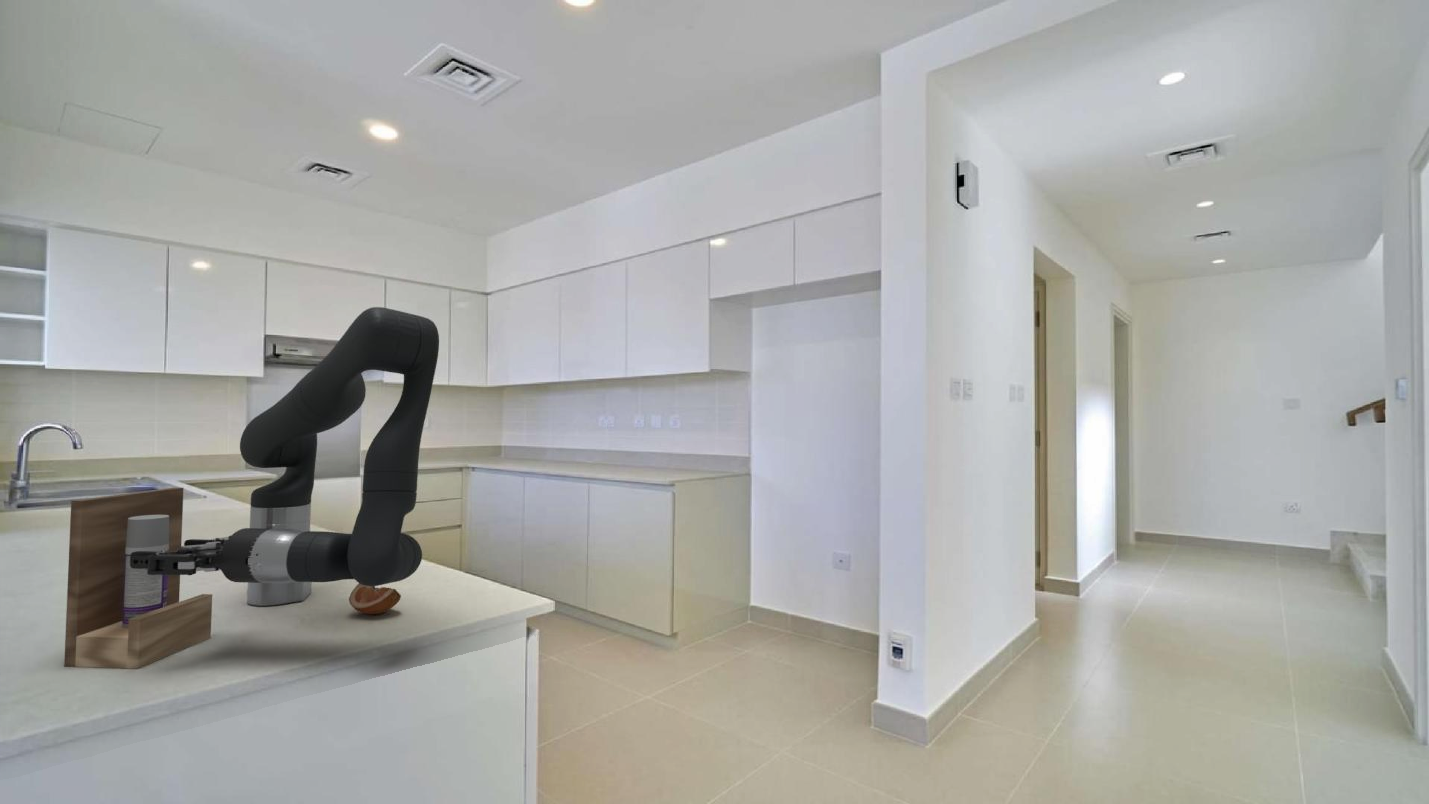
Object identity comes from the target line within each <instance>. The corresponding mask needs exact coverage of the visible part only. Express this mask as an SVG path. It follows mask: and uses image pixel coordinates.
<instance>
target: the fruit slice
mask: <svg viewBox="0 0 1429 804" xmlns="http://www.w3.org/2000/svg"><path fill="white" fill-rule="evenodd" d="M348 598H349V599H348V601H349V604H350V605H351V607H352V608H353V609H354V610H355V611H357V612H358V613H361V614H363V615H371V616H373V614H376V615H381V614H384V613H385V612H387V611H389V610H391V609H392V608H394V607H395V606H396V605H397V604H398V602H400V600H401V598H402V595H401V594H400V593H399V591H397V589H395V588H392V587H385V586H382V587H376V586H365V585H362V584H360V583H357V584H356V586H355V587H354V588H353V589H352V591H351V593H350V594H349V597H348ZM383 612H384V613H383ZM380 613H381V614H380Z"/></svg>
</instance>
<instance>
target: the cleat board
mask: <svg viewBox="0 0 1429 804" xmlns="http://www.w3.org/2000/svg"><path fill="white" fill-rule="evenodd" d="M183 508H184V487H167V488H159V489H153V490H145V491H144V490H143V491H135V492H130V493H121V494H113V495H105V496H99V497H98V496H97V497H89V498H83V499H82V498H81V499H75V500H71V501H70V521H69V522H70V523H69V524H70V525H69V526H70V527H69V542H68V543H69V548H68V570H67V594H66V617H65V618H66V619H65V639H64V662H63V664H64V665H63V666H64V668H65V667H66V668H67V667H68V668H69V667H71V668H100V669H101V668H103V669H106V668H107V669H136V670H137V669H141V668H143V667H145V666H148V665H149V664H152V663H154V662H157V661H158V660H161V659H164V658H166V657H168V656H171V655H173V654H175V653H178V652H180V651H182V650H185V649H187V648H190V647H191V646H194V645H197V644H199V643H201V642H203V641H205V640H208V639H210V638H211V637H212V636H211V635H212V613H213V611H212V609H213V593H210V594H209V593H201V594H198V595H196V596H195V595H194V596H193V597H190V598H187V599H184V600H181V601H180V590H181V589H180V587H181V575H168V582H167V606H166V607H163V608H160V609H157V610H154V611H151V612H148V613H145V614H142V615H139V616H136V617H133V618H130V619H129V628H125V627H123V626H122V617H123V593H124V570H125V550H126V537H127V524H128V518H130V517H135V516H144V515H169V551H174V550H178V549H179V548H180V547H182V538H183V537H182V536H183V534H182V533H183V532H182V531H183V513H184V512H183V511H184V509H183Z"/></svg>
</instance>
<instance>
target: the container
mask: <svg viewBox="0 0 1429 804" xmlns="http://www.w3.org/2000/svg"><path fill="white" fill-rule="evenodd" d="M136 551H157V552H159V551H169V515H144V516H135V517H130V518H128V524H127V537H126V550H125V570H124V593H123V617H122V626H123V627H125V628H129V619H130V618H133V617H136V616H139V615H142V614H145V613H148V612H151V611H154V610H157V609H160V608H163V607H166V606H167V582H168V575H148V574H147V571H148V569H135V568H131V567H130V555H131V553H132V552H136Z"/></svg>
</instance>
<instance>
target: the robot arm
mask: <svg viewBox="0 0 1429 804" xmlns="http://www.w3.org/2000/svg"><path fill="white" fill-rule="evenodd" d="M438 330H439V329H438V328H437V325H436V324H435V323H434V321H433V320H432V319H430V318H428V317H425V316H421V315H418V314H412V313H409V312H406V311H400V310H398V309H397V310H395V309H392V308H387V307H382V306H375V307H374V306H373V307H369V308H367V309H365V310H364V311H362V312H361V313H360V314H358V315H357V317H356V318H355V319H354V320H353V322H352V323H351V324H350V326H348V328H347V329H346V331H345V332H344V334H343V335H342V336H341V338H340V339H339V340H338V341H337V342H336V344H335V345H334V346H333V347H332V349H331V350H330V351H329V353H328V354H326V356H325V357H324V358H323V359H322V360H321V361H320V362H319V363H317V365H316V366H315V367H313V368H312V369H311V370H310V371H309V372H307V374H305V375H304V376H303V378H301V379H300V380H299V381H298V382H297V383H296V384H295V385H294V387H292V389H291V390H290V391H289V392H287V393H286V394H285V395H284V396H283V397H282V398H281V399H279V400H278V401H277V402H276V403H275V404H273V405H272V406H270V407H269V408H268V409H266V410H265V411H262V412H261V413H260V414H258V415H257V416H255V417H254V418H253V419H252V420H250V422H248V423H247V425H246V427H245V428H244V430H243V432H242V434H241V437H240V441H239V452H240V456H241V457H242V459H243V460H244V462H245V463H246V464H248V465H250V466H252V467H255V468H260V469H272V468H273V469H277V468H279V469H280V468H285V472H284V474H282V476H280V477H279V478H278V479H275V480H274V481H272V482H270V483H268V484H265V485H262V486H260V487H257V488H255V489H253V491H252V492H251V494H250V511H249V528H248V527H243V528H241V529H238V530H236V531H235V532H234V533H233V534H231V535H229V536H225V537H215V538H212V539H204V538H202V539H200V538H199V539H195V538H192V539H187V540H184V542H183V543H184V544H183V545H181V547H180V548H179V549H178V550H174V551H159V552H157V551H136V552H132V553H131V555H130V567H131V568H135V569H148V571H147V574H148V575H180V576H193V575H196V574H197V572H200V571H203V572H206V573H208V572H209V573H210V572H217V571H221V572H222V574H223V575H224V577H225V578H226V579H227V580H229V581H230V582H233V583H244V584H245V583H247V590H246V595H247V596H246V598H247V599H246V603H247V604H248V605H251V606H260V607H261V606H263V607H264V606H265V607H266V606H276V605H278V606H279V605H284V604H289V603H294V602H302V601H304V600H305V599H306V598H307V597H309V595H310V594H311V593H312V584H313V583H330V582H331V583H332V582H337V581H342V580H344V581H345V580H355V582H357V584H359V583H360V584H362V585H365V586H375V587H378V586H383V585H388V584H391V583H392V584H393V583H397V582H401V581H404V580H405V579H407V578H409V577H410V576H412V575H413V574H414V573H416V572H417V570H418V568H419V567H420V565H421V563H422V559H423V552H422V551H423V550H422V547H421V544H420V543H419V542H418V541H417V540H416V539H415V538H414V537H413V536H411V535H409V534H407V533H404V532H402V529H403V524H404V521H405V520H404V519H405V517H406V516H407V515H408V514H410V513H411V512H412V511H413V510H414V509H415V507H416V503H417V496H418V495H417V494H418V493H417V491H418V477H419V476H418V474H419V458H420V449H421V443H422V436H423V430H424V425H425V421H426V417H427V411H428V408H429V403H430V398H431V395H432V394H431V393H432V389H433V383H434V379H435V374H436V370H437V365H438V358H439V349H440V334H439V331H438ZM366 371H381V372H388V373H393V374H400V375H403V385H402V391H401V395H400V398H399V401H398V403H397V405H396V406H395V408H394V410H393V412H392V413H391V414H390V416H389V418H388V419H387V420H386V422H384V424H383V425H382V426H381V428H380V429H379V431H378V432H377V433H376V435H375V436H374V437H373V439H372V441H371V443H370V445H369V447H368V449H367V451H366V455H365V458H364V465H363V474H362V475H363V476H362V478H363V479H362V489H361V491H362V493H361V498H362V501H361V504H360V505H361V506H360V509H359V510H358V513H357V516H356V518H355V522H354V525H353V529H352V532H351V533H344V532H336V531H335V532H333V531H320V530H319V531H318V530H317V531H315V530H313V531H311V512H312V509H311V508H312V495H313V491H314V485H315V471H316V461H317V451H318V434H319V433H322V432H323V433H324V432H327V431H329V430H332V429H334V428H336V427H338V426H339V425H341V424H342V423H344V422H345V421H346V420H348V419H349V418H350V417H352V416H353V415H354V414H355V413H356V412H358V410H360V408H361V407H362V405H363V403H365V402H364V401H365V398H366V391H367V389H366V382H365V379H364V377H363V374H362V373H363V372H366Z"/></svg>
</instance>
